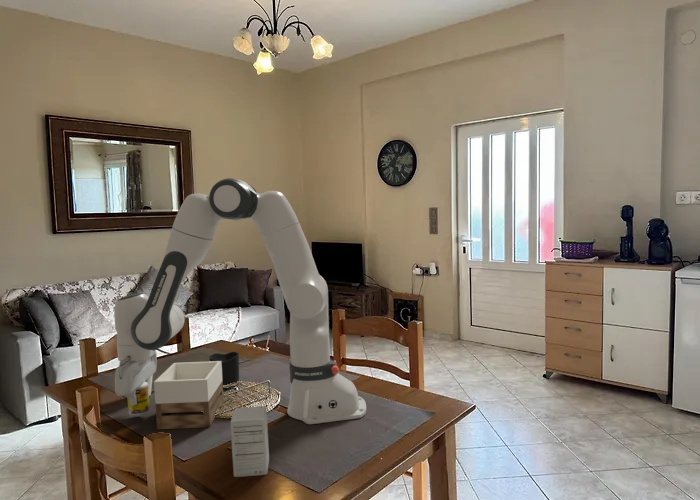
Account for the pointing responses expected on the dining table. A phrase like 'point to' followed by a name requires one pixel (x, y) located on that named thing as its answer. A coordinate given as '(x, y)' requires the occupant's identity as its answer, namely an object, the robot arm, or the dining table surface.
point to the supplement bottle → (140, 401)
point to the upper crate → (188, 382)
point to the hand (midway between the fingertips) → (139, 399)
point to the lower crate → (189, 412)
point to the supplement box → (250, 441)
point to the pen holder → (228, 366)
